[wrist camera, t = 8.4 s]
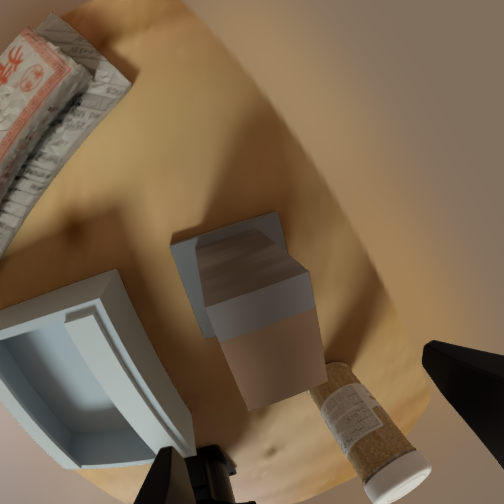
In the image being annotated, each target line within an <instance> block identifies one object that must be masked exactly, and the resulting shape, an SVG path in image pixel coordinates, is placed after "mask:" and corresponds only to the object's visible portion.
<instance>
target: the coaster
mask: <svg viewBox="0 0 504 504" xmlns="http://www.w3.org/2000/svg"><path fill="white" fill-rule="evenodd" d="M255 228H257V229H259V230H260V231H261V232H262V233H263V234H265V235H266V236H267V237H268V238H269V239H271V240H272V241H273V242H274V243H275V244H277V245H278V246H279V247H280V248H281V249H283V250H284V251H285V252H286V253H287V248H286V244H285V239H284V235H283V231H282V226H281V222H280V218H279V213H278V212H276V211H274V212H271V213H267V214H264V215H261V216H257V217H254V218H251V219H247V220H244V221H241V222H237V223H234V224H231V225H228V226H224V227H221V228H218V229H215V230H212V231H208V232H205V233H202V234H199V235H196V236H193V237H190V238H186V239H183V240H180V241H177V242H174V243H171V244H170V249H171V252H172V255H173V257H174V260H175V263H176V266H177V269H178V271H179V274H180V277H181V280H182V282H183V285H184V288H185V290H186V293H187V296H188V298H189V301H190V303H191V306H192V308H193V311H194V314H195V316H196V319H197V321H198V324H199V326H200V328H201V331H202V333H203V336H204V338H205V339H208V338H211V337H214V336H216V334H215V331H214V329H213V326H212V324H211V321H210V319H209V316H208V314H207V311H206V309H205V304H204V299H203V293H202V288H201V282H200V276H199V270H198V264H197V258H196V252H195V248H197V247H200V246H203V245H206V244H209V243H212V242H215V241H218V240H221V239H224V238H227V237H230V236H233V235H236V234H240V233H243V232H246V231H249V230H252V229H255ZM287 254H288V253H287Z"/></svg>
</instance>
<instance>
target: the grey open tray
mask: <svg viewBox="0 0 504 504" xmlns="http://www.w3.org/2000/svg"><path fill="white" fill-rule="evenodd" d="M0 401H1V402H2V404H3V405H4V406H5V408H6V409H7V410H8V411H9V412H10V414H11V415H12V416H13V417H14V418H15V420H16V421H17V422H18V423H19V424H20V425H21V426H22V428H23V429H24V430H25V431H26V432H27V433H28V434H29V435H30V436H31V437H32V438H33V439H34V440H35V441H36V443H38V445H39V446H41V448H42V449H44V450H45V451H46V452H47V453H48V454H49V455H50V456H51V457H52V458H53V459H54V460H55V461H56V462H57V463H58V464H60V465H61V466H62V467H63V468H64V469H99V468H114V467H125V466H134V465H143V464H150V463H153V462H154V460H155V458H156V456H157V453H158V451H159V449H160V448H162V447H166V446H173V447H174V448H175V449H176V450H177V451H178V452H179V454H180V455H181V456H182V457H183V458H185V457H190V456H195V455H197V454H196V446H195V439H194V431H193V422H192V414H191V413H190V411H189V410H188V408H187V406H186V405H185V403H184V401H183V400H182V398H181V396H180V395H179V393H178V391H177V390H176V388H175V386H174V385H173V383H172V381H171V379H170V378H169V376H168V374H167V372H166V370H165V369H164V367H163V365H162V363H161V361H160V359H159V358H158V356H157V354H156V352H155V350H154V348H153V346H152V344H151V342H150V340H149V338H148V336H147V334H146V332H145V330H144V328H143V326H142V324H141V322H140V320H139V318H138V316H137V314H136V311H135V309H134V307H133V305H132V303H131V300H130V298H129V296H128V294H127V291H126V289H125V287H124V284H123V282H122V280H121V277H120V275H119V272H118V270H117V268H116V269H113V270H110V271H107V272H104V273H101V274H99V275H96V276H93V277H90V278H87V279H84V280H81V281H79V282H76V283H73V284H70V285H67V286H65V287H62V288H59V289H56V290H54V291H51V292H48V293H45V294H43V295H40V296H37V297H34V298H32V299H29V300H26V301H24V302H21V303H18V304H16V305H13V306H10V307H8V308H5V309H3V310H0Z"/></svg>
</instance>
